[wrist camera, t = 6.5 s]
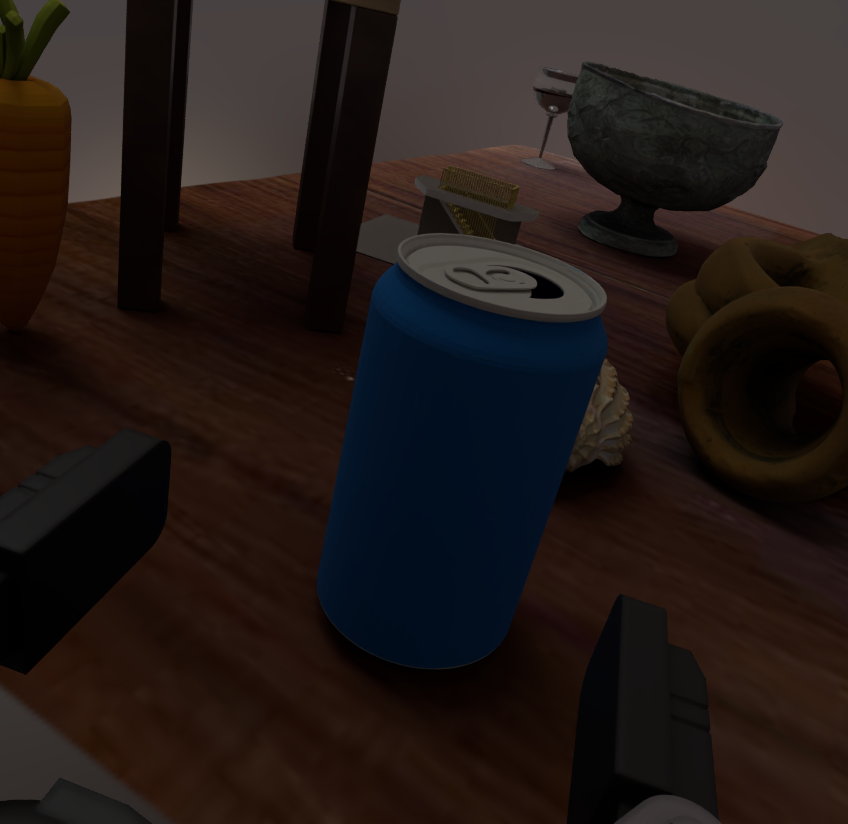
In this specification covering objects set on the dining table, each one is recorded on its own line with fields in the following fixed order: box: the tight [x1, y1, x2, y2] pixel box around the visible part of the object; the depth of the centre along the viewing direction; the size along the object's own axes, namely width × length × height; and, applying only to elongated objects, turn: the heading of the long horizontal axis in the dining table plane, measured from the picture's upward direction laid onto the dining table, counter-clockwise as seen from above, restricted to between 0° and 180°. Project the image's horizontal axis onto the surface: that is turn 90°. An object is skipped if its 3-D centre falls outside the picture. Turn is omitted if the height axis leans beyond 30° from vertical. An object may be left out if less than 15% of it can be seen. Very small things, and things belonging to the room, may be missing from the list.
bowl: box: [567, 62, 783, 257], centre depth 76 cm, size 20×19×15 cm
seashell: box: [565, 359, 633, 472], centre depth 38 cm, size 8×6×10 cm
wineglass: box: [521, 67, 579, 170], centre depth 107 cm, size 7×7×12 cm
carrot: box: [0, 0, 71, 332], centre depth 34 cm, size 5×5×15 cm
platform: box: [356, 165, 539, 264], centre depth 61 cm, size 12×18×7 cm, turn 68°
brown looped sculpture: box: [666, 233, 848, 503], centre depth 45 cm, size 18×13×22 cm
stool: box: [117, 0, 401, 333], centre depth 46 cm, size 12×16×18 cm
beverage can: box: [317, 233, 607, 669], centre depth 23 cm, size 6×6×12 cm
